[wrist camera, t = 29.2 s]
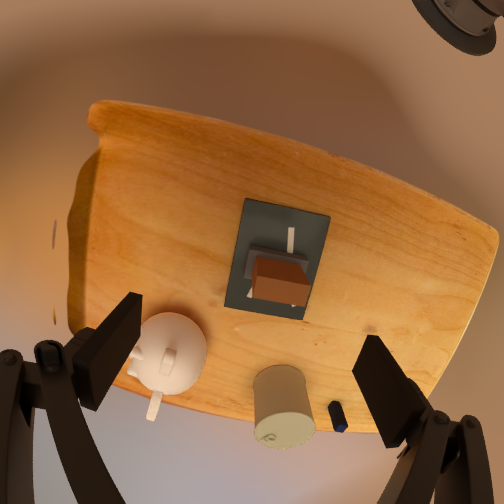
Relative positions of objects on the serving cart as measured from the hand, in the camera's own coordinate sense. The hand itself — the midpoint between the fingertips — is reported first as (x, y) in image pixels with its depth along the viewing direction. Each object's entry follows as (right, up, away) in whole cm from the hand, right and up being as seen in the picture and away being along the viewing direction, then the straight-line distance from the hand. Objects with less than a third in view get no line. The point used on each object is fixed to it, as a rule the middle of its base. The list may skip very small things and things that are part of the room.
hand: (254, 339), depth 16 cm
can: (+5, -18, +33) cm, 38 cm away
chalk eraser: (+3, +3, +26) cm, 26 cm away
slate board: (+3, +3, +27) cm, 27 cm away
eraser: (+16, -25, +35) cm, 45 cm away
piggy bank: (-12, -8, +30) cm, 34 cm away
